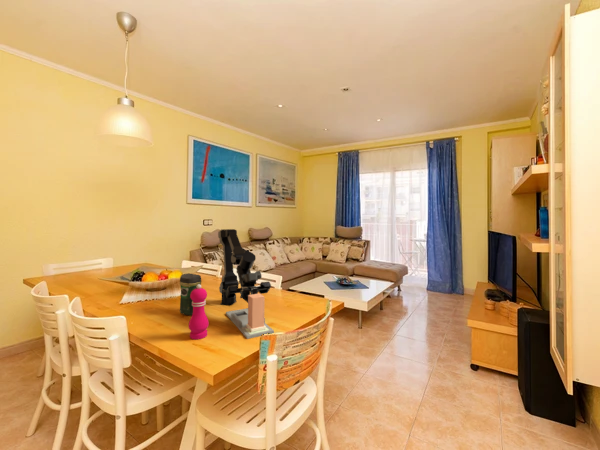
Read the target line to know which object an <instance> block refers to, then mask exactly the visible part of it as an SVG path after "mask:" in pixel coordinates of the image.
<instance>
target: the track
mask: <svg viewBox="0 0 600 450" xmlns="http://www.w3.org/2000/svg"><path fill="white" fill-rule="evenodd" d="M225 316H227V317H228V319H230V321H231V322H232V323H233V324H234V325H235V326H236V328H237V329H238V330H239V331H240V333H241V334H243V336H244V337H245V338H246V339H247V340H249V339H253V338H258V337H262V336H261V335H262V334H267V333H271V334H274V333H275V331H274V329H273V328H272V327H270V326H269V325H268V324H267V323H266V318H265V317H264V325H265V326H266V329H264V330H259V331H254V332H251V331H250V330H249V329H248V328H247V327H246V324H248V307H247V308H242V309H241V308H240V309H236V310H229V311H226V312H225ZM267 335H268V334H267Z"/></svg>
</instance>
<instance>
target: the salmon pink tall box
mask: <svg viewBox="0 0 600 450" xmlns="http://www.w3.org/2000/svg"><path fill="white" fill-rule="evenodd" d="M247 308H248V324H246V327H247V328H248V329H249V330H250V331H251V332H254V331H259V330H264V329H266V326H265V325H264V318H265V296H264V295H263V294H260V293H259V292H258V293H257V294H252V295H248V303H247Z"/></svg>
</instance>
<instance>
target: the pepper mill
mask: <svg viewBox="0 0 600 450" xmlns="http://www.w3.org/2000/svg"><path fill="white" fill-rule="evenodd" d="M207 297H208V292H207V290H206V289H205V288H203V287H202V284H201V285H200V284H198V285H197V286H196V289H194V290H193V291H192V292H191V295H190V298H191V299H192V300H193V301H192V306H193V314H192V315H191V317H190V319H189V322H188V329H189V330H190V331H189V338H190V339H192V340H202V339H204V338H206V337H207V336H208V328H209V324H210V323H209V319H208V317H207V314H206V311H205V306H206V304H207V303H206V302H207V301H206V299H207Z"/></svg>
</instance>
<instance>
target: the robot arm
mask: <svg viewBox="0 0 600 450" xmlns="http://www.w3.org/2000/svg"><path fill="white" fill-rule="evenodd" d="M217 237H218V239H219V243H220V245H221V246H222V251H223V268H224V269H223V270H224V273H223V275H222V277H221V282H220V284H219V287H218V289H219V293H220V294H221V302H220V305H223V306H233V305H234V304H236V303H237V294H240V297H239V298H240V299H242V300H244V301H245V302H246V303H247V304H248V295H252V294H259V293H260V294H261V295H263V294H267V293H268V292H269V291H270V289H271V287H272V284H271V282H270V281H261V282H260V284H259V285H257V281H259V280H261V279H262V273H261V272H262V271H260V270H258V271H257V270H256V271H255V272H251V269H252V268H253V265H254V262H255V261H256V255H255V254H254V253H253V252H251V251H250V249H245V248H243V247H242V245H241V241H240V239H239V236H238V230H237V229H236V228H234V229H233V228H229V229H220V230H219V231H218V233H217ZM234 266H236V267H235V269H236V274H237V275H236V274H235V272H234ZM239 285H240V287H239Z"/></svg>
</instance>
